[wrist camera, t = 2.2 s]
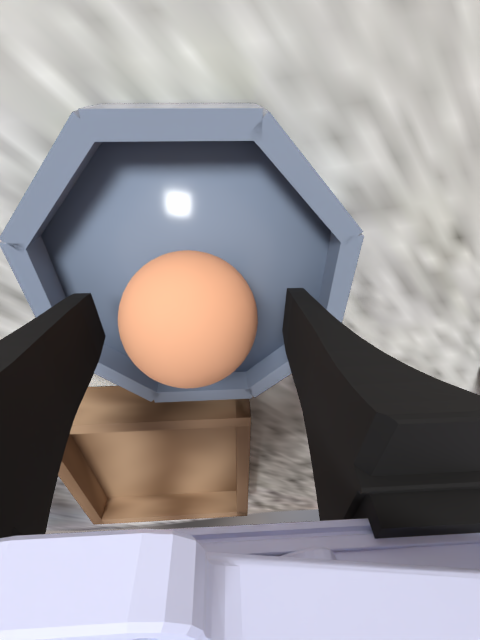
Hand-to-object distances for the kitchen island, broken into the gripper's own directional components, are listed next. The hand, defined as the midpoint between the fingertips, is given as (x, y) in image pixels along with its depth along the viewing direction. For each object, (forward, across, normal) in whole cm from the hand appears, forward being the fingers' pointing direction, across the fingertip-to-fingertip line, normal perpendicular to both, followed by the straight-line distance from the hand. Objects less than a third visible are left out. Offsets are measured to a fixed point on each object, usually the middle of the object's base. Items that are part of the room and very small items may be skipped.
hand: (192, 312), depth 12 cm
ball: (0, 0, 0) cm, 0 cm away
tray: (+3, +4, +14) cm, 15 cm away
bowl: (+3, 0, 0) cm, 3 cm away
